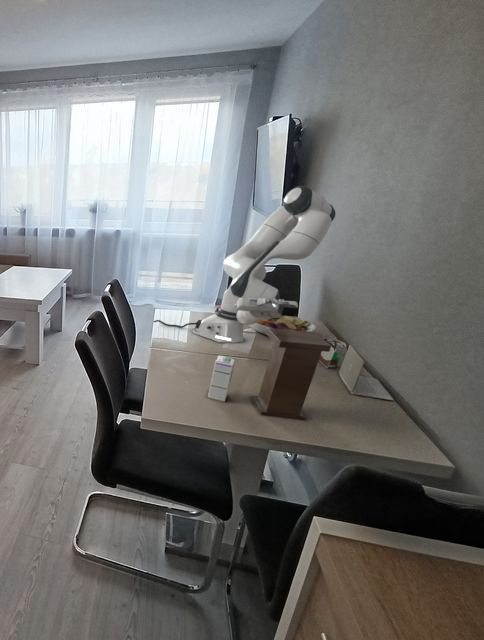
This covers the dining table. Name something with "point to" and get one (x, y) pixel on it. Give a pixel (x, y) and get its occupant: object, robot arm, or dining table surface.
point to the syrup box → (221, 378)
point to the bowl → (284, 324)
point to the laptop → (360, 377)
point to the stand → (289, 372)
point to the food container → (332, 353)
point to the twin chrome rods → (284, 308)
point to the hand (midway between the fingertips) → (274, 300)
